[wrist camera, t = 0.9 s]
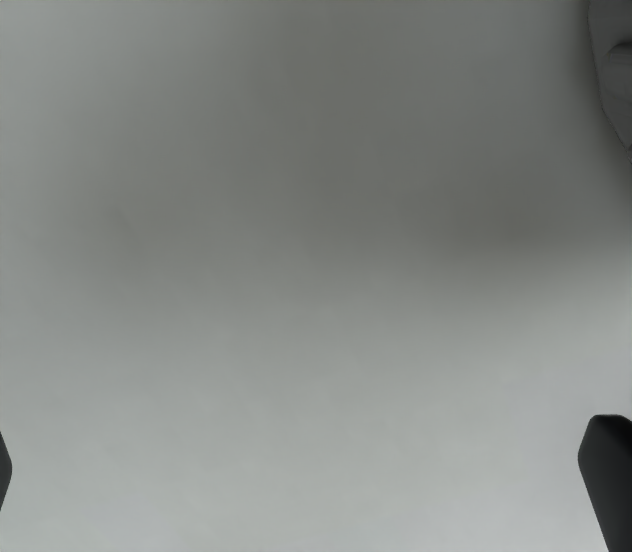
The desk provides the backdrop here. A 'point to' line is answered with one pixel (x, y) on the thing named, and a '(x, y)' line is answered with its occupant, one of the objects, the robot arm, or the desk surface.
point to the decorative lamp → (614, 62)
